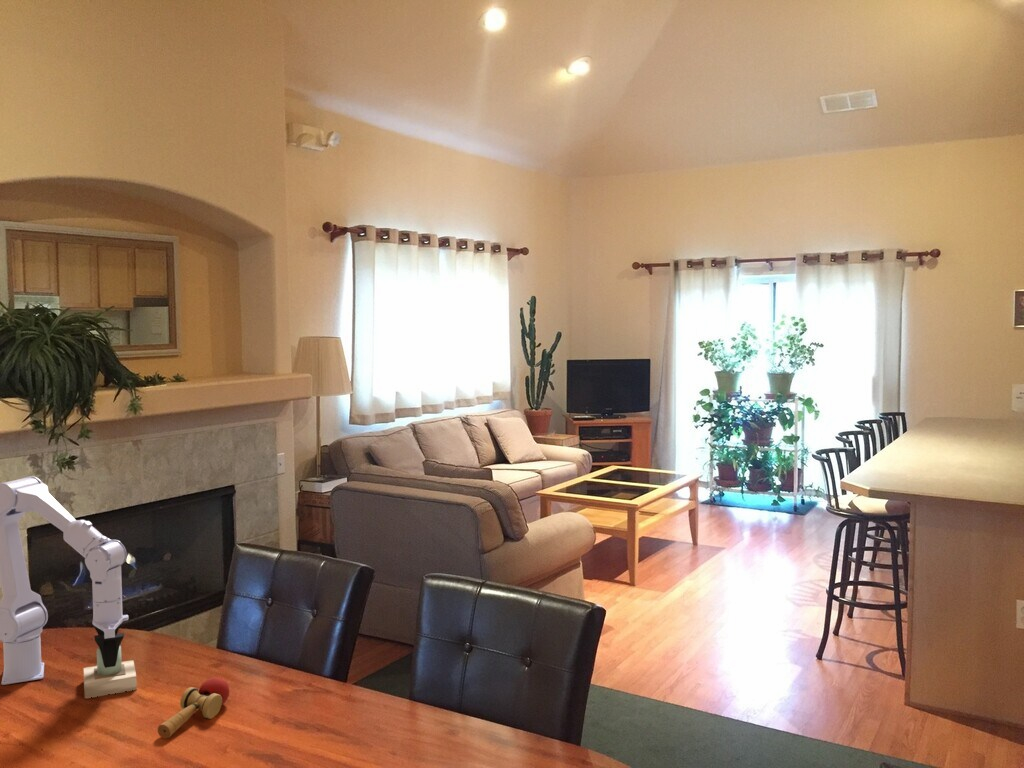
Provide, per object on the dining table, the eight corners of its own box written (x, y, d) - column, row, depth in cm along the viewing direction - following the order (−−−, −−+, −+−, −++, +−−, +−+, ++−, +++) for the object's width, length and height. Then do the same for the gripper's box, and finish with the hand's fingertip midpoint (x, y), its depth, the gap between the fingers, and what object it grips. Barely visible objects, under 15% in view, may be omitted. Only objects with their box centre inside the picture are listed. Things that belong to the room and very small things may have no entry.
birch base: (84, 681, 192) (83, 667, 192) (133, 673, 197) (133, 659, 196) (84, 698, 183) (84, 683, 183) (136, 689, 188) (136, 675, 187)
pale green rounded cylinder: (97, 669, 191) (96, 646, 190) (121, 665, 193) (120, 643, 192) (97, 677, 186) (96, 654, 186) (122, 673, 189) (121, 650, 188)
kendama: (185, 748, 165) (242, 697, 182) (176, 718, 164) (234, 669, 181) (153, 749, 167) (212, 698, 184) (144, 719, 167) (204, 671, 183)
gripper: (129, 605, 184) (131, 668, 185) (125, 586, 197) (127, 646, 198) (92, 610, 181) (94, 674, 182) (91, 591, 194) (92, 651, 195)
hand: (109, 660), depth 189 cm, fingers open, 7 cm apart
